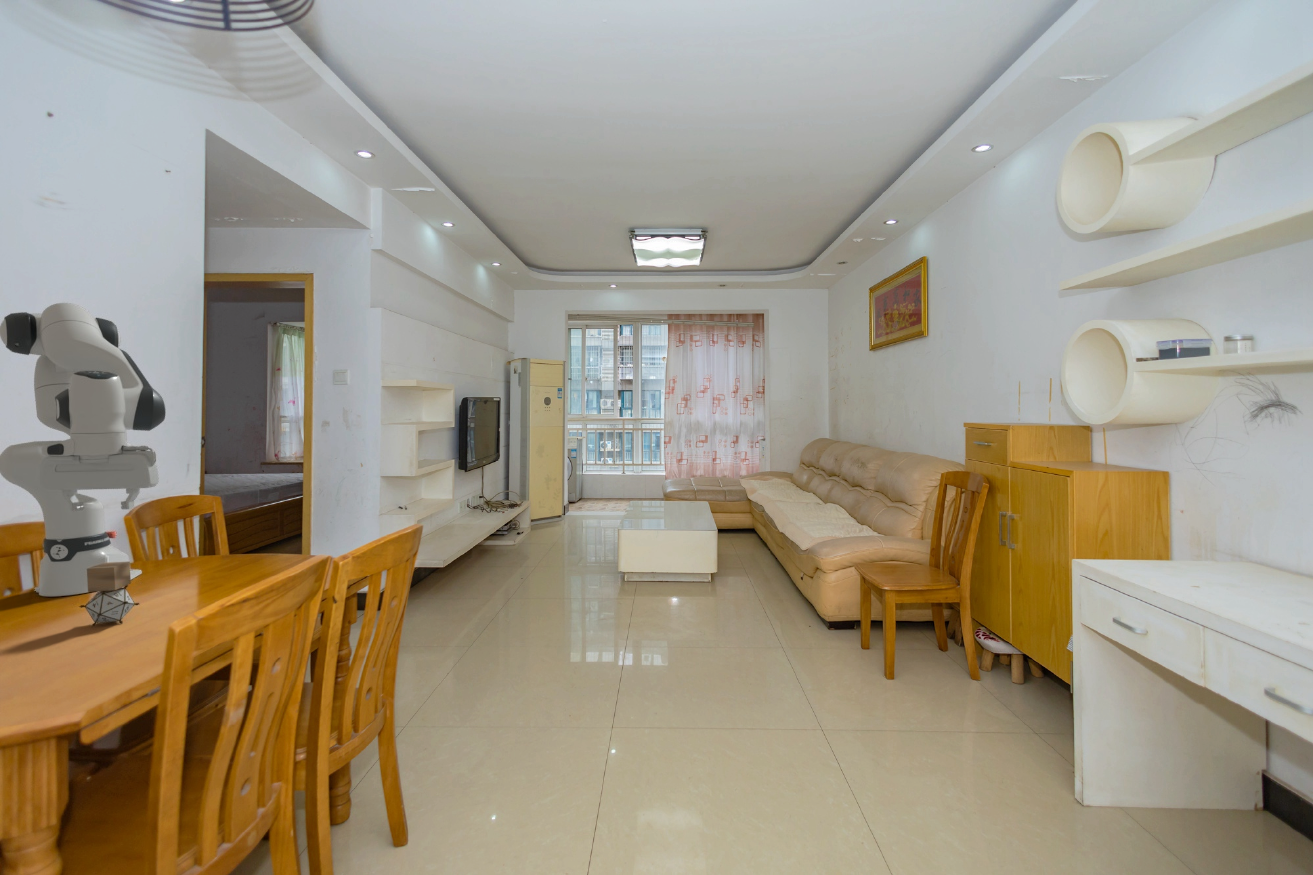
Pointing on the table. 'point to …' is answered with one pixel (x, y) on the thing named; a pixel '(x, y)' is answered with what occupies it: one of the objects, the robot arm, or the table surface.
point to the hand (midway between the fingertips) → (102, 509)
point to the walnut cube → (108, 576)
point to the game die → (109, 605)
